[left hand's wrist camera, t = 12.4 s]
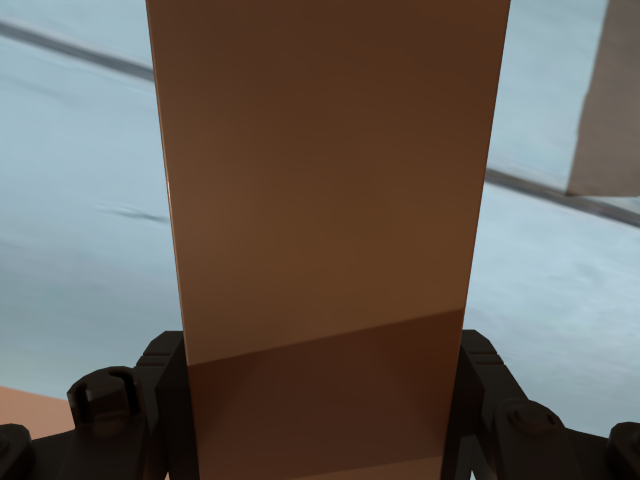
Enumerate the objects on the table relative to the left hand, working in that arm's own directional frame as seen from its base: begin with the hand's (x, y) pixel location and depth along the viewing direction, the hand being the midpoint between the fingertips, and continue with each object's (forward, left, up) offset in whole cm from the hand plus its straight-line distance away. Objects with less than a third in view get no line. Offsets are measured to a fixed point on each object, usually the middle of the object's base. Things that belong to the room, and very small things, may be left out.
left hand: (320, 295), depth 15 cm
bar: (+25, +19, 0) cm, 32 cm away
